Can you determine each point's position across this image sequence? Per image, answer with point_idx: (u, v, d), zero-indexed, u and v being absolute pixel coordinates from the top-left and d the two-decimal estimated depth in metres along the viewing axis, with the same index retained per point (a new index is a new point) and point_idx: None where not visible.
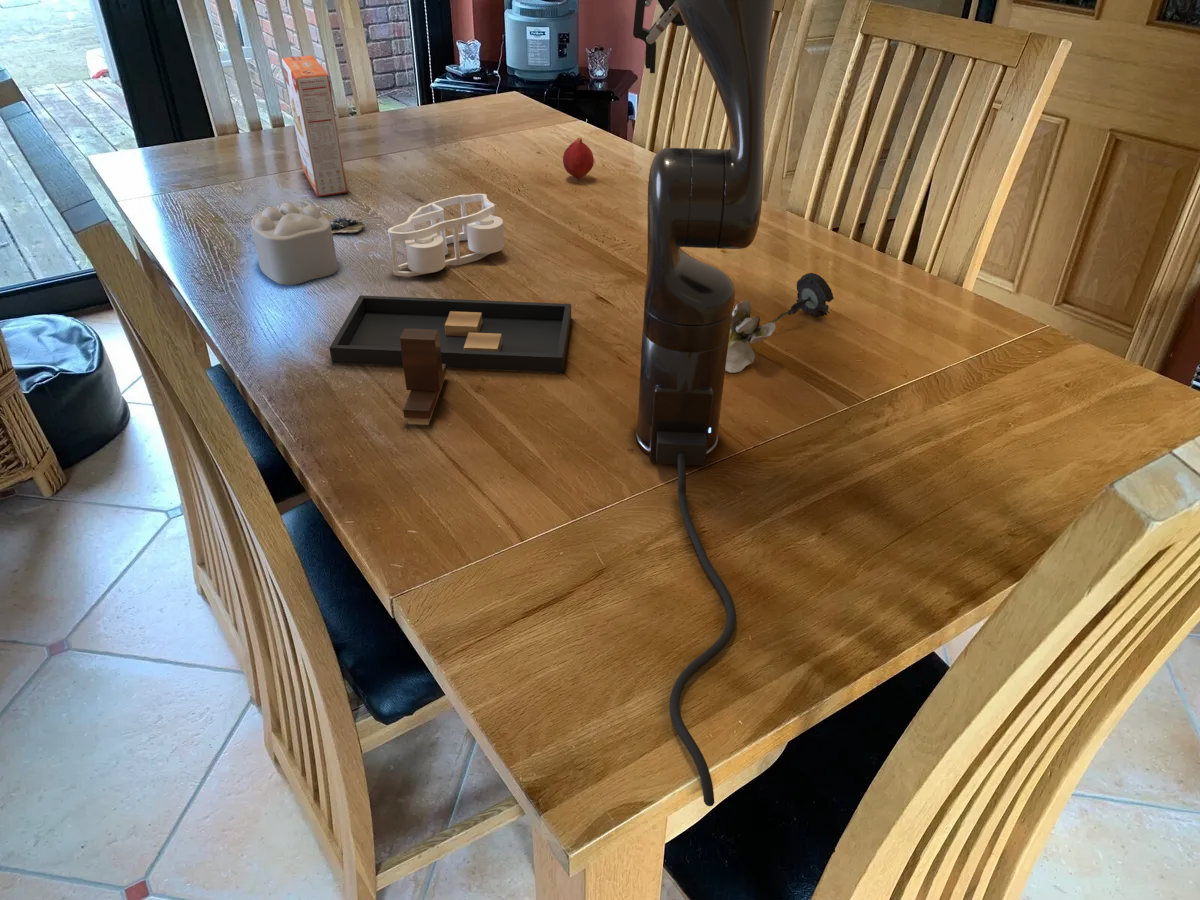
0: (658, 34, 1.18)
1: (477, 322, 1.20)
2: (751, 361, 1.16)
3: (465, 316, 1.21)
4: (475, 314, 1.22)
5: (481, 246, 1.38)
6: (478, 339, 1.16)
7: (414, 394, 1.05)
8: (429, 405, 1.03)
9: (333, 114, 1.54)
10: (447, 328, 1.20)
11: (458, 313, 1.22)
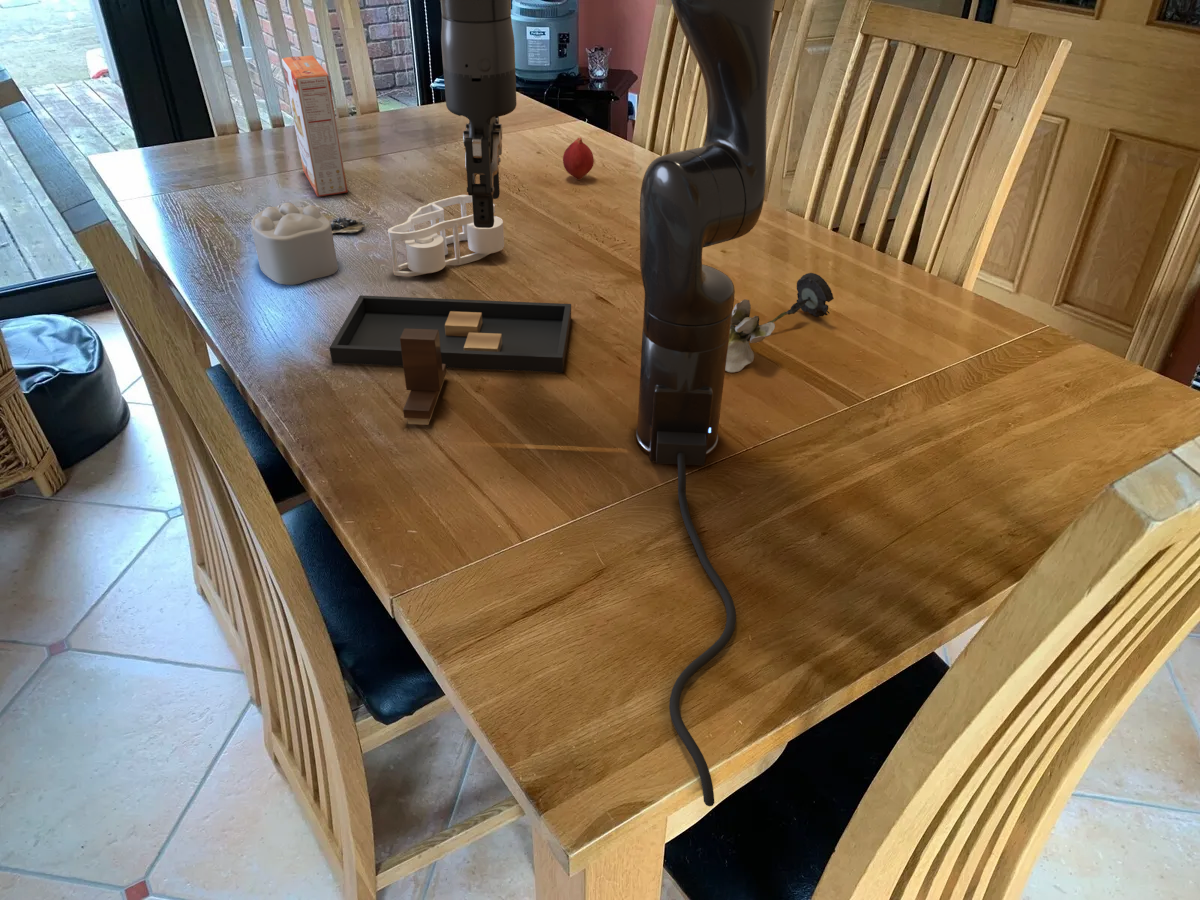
0: None
1: (477, 322, 1.20)
2: (750, 361, 1.16)
3: (465, 316, 1.21)
4: (475, 314, 1.22)
5: (481, 246, 1.38)
6: (478, 339, 1.16)
7: (414, 394, 1.05)
8: (429, 405, 1.03)
9: (333, 114, 1.54)
10: (447, 328, 1.20)
11: (458, 313, 1.22)
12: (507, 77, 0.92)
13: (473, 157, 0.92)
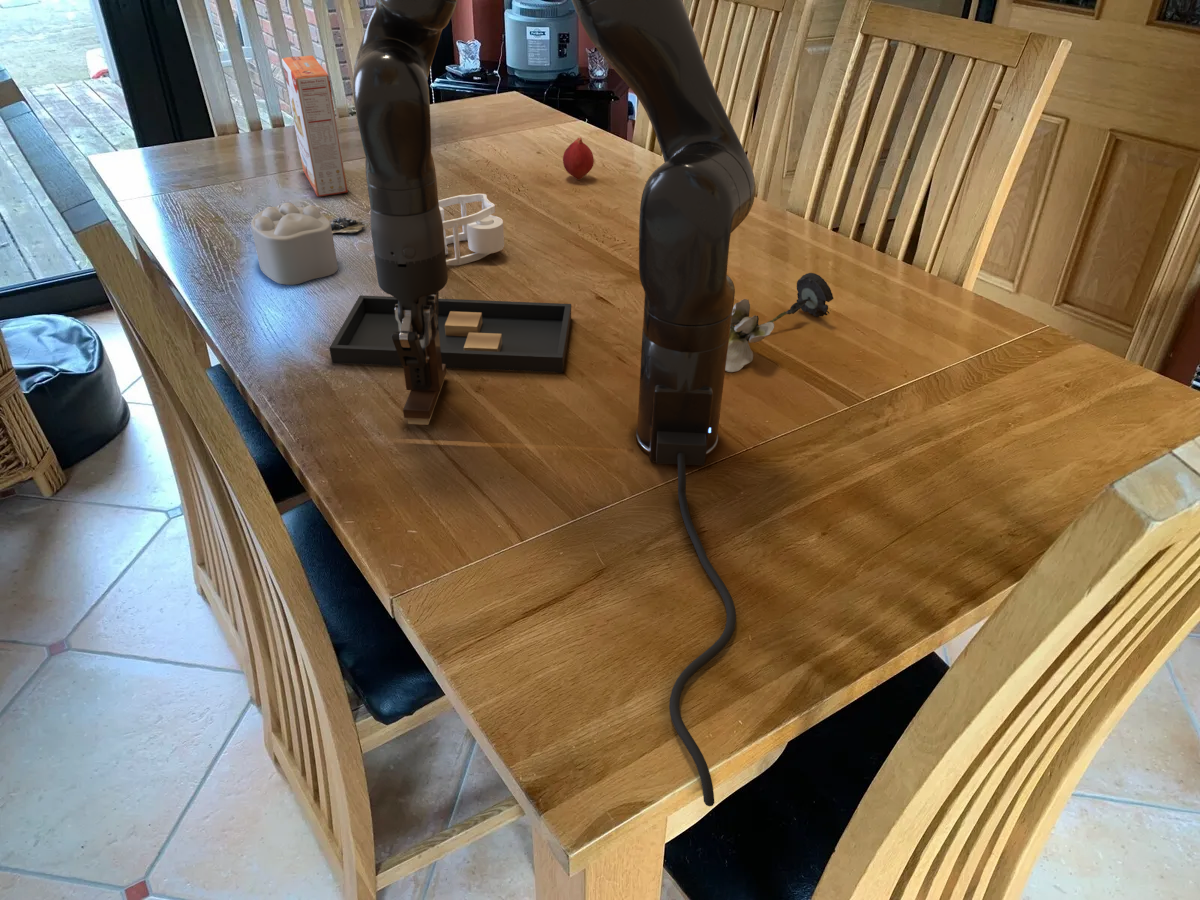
0: None
1: (477, 322, 1.20)
2: (749, 360, 1.16)
3: (465, 316, 1.21)
4: (475, 314, 1.22)
5: (481, 246, 1.38)
6: (478, 339, 1.16)
7: (414, 394, 1.05)
8: (429, 405, 1.03)
9: (333, 114, 1.54)
10: (447, 328, 1.20)
11: (458, 313, 1.22)
12: (433, 260, 0.94)
13: (402, 347, 0.96)
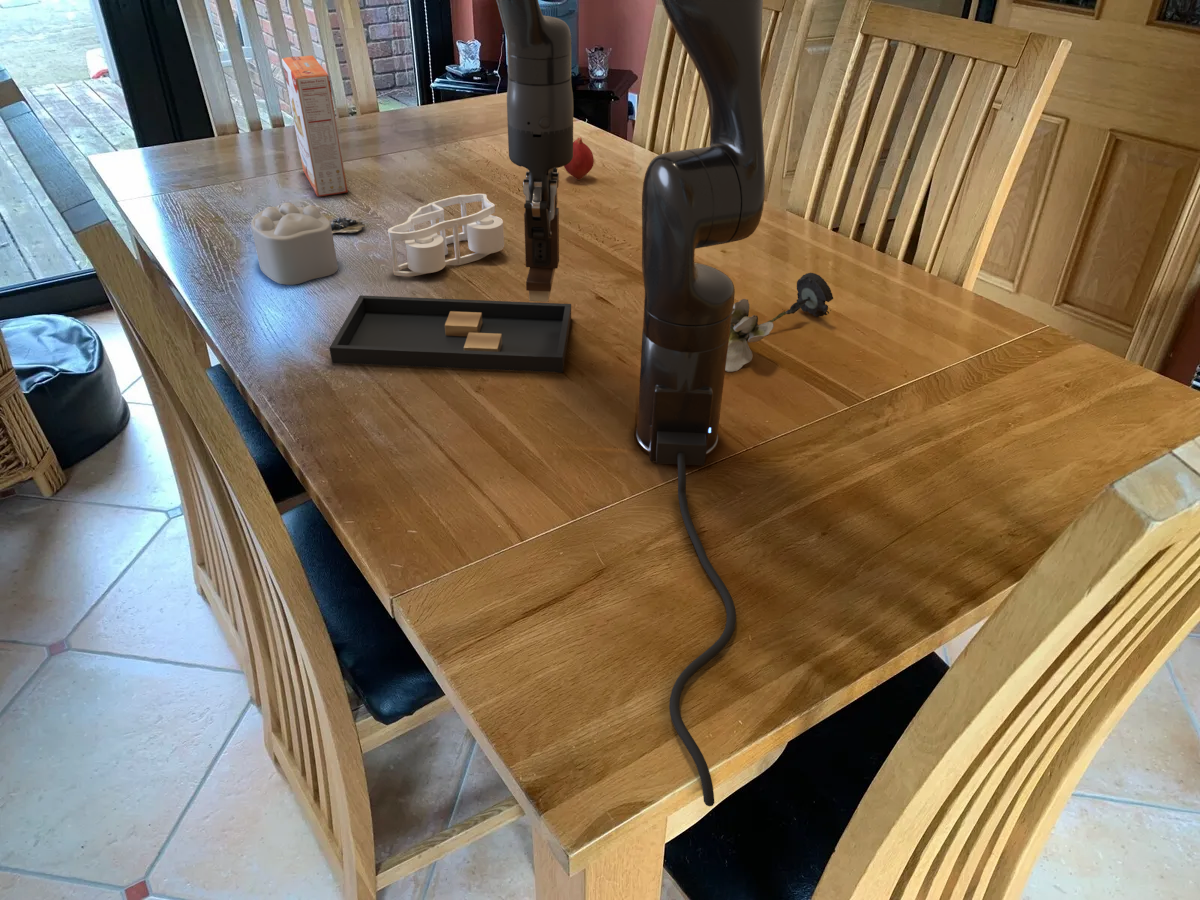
0: None
1: (477, 322, 1.20)
2: (749, 360, 1.16)
3: (465, 316, 1.21)
4: (475, 314, 1.22)
5: (481, 246, 1.38)
6: (478, 339, 1.16)
7: (534, 270, 1.11)
8: (550, 279, 1.09)
9: (333, 114, 1.54)
10: (447, 328, 1.20)
11: (458, 313, 1.22)
12: (565, 133, 1.00)
13: (533, 217, 1.03)
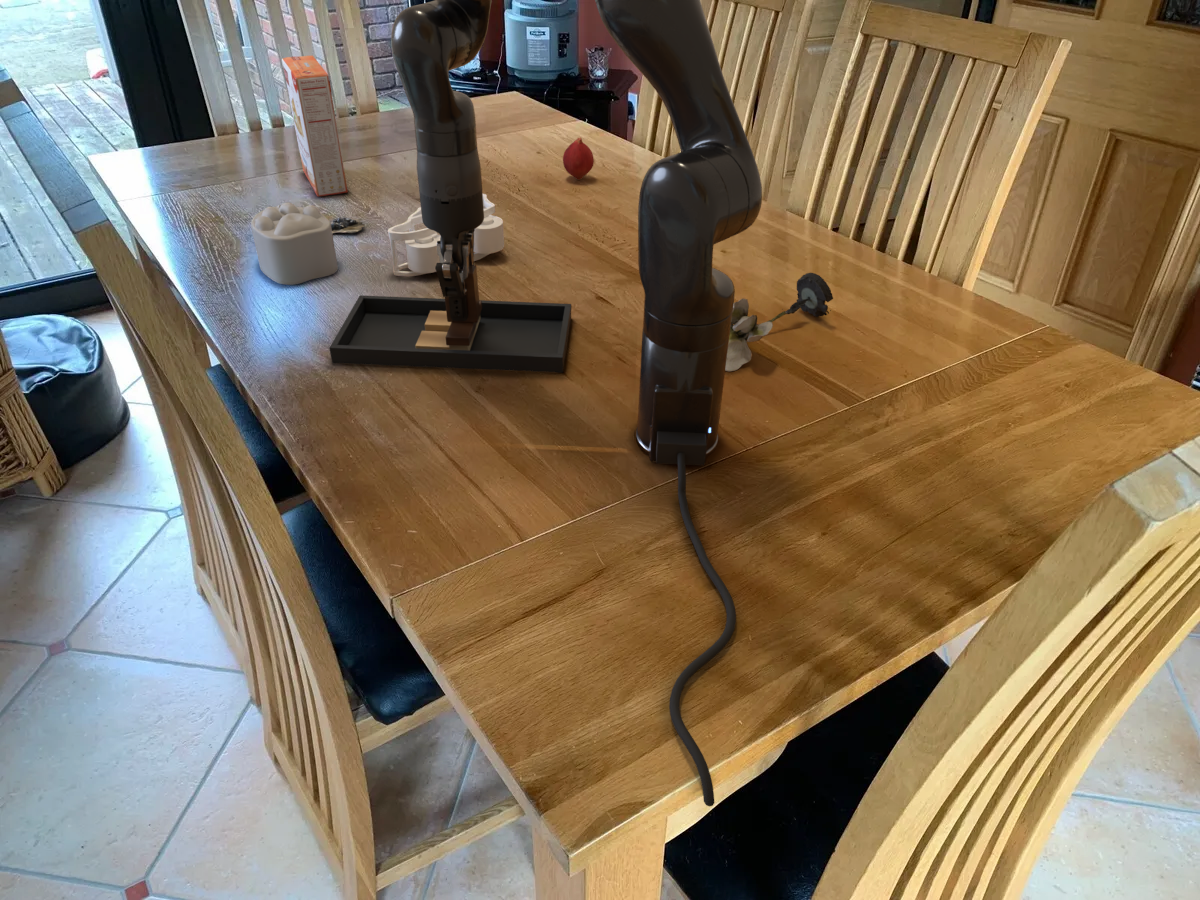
0: None
1: None
2: (748, 360, 1.17)
3: (445, 315, 1.21)
4: None
5: (481, 246, 1.38)
6: (431, 337, 1.16)
7: (455, 325, 1.16)
8: (468, 333, 1.14)
9: (333, 114, 1.54)
10: (427, 327, 1.20)
11: (438, 312, 1.22)
12: (472, 199, 1.06)
13: (444, 278, 1.08)
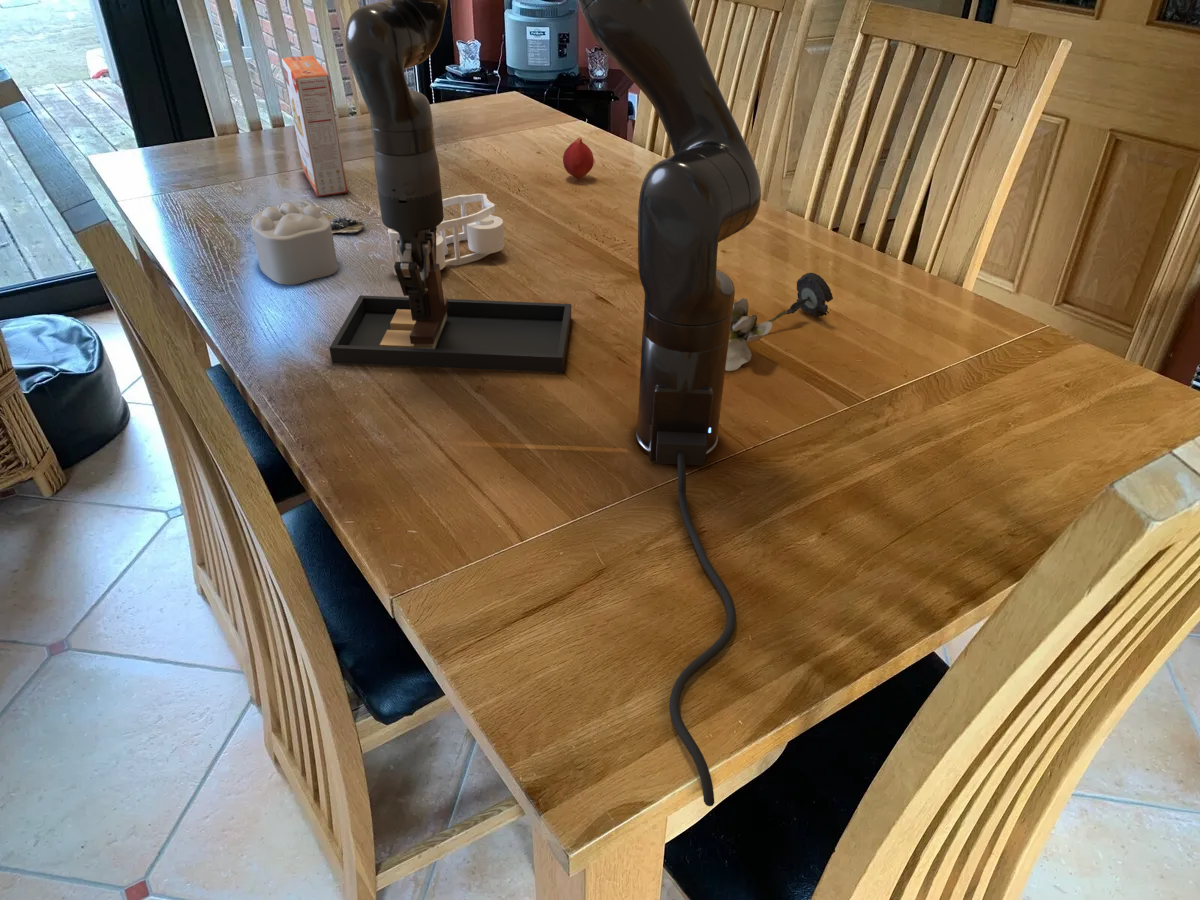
0: None
1: None
2: (747, 360, 1.17)
3: None
4: None
5: (481, 246, 1.38)
6: (395, 336, 1.17)
7: (420, 323, 1.16)
8: (433, 332, 1.14)
9: (333, 114, 1.54)
10: (393, 326, 1.20)
11: (405, 311, 1.22)
12: (431, 198, 1.06)
13: (404, 277, 1.08)
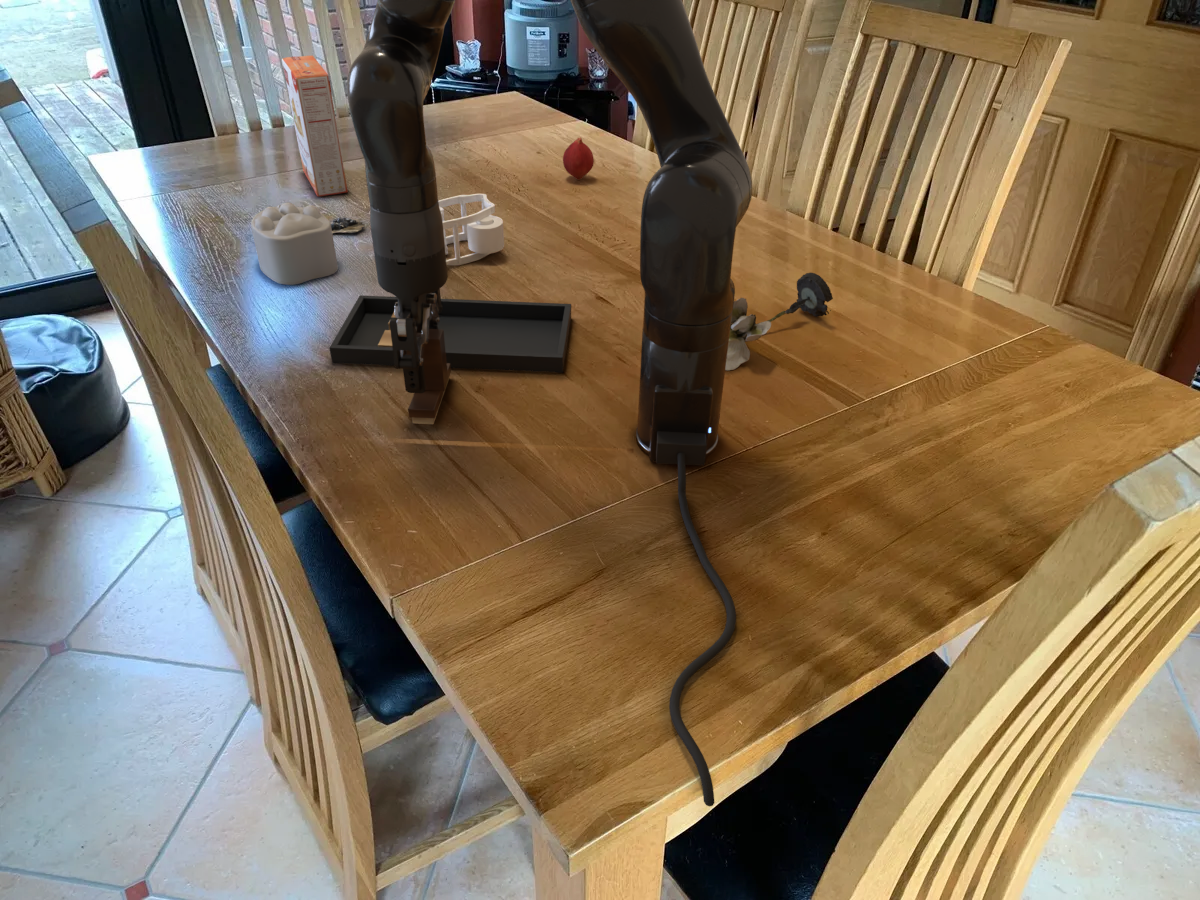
0: None
1: None
2: (746, 359, 1.17)
3: None
4: None
5: (481, 246, 1.38)
6: None
7: (419, 394, 1.05)
8: (434, 404, 1.03)
9: (333, 114, 1.54)
10: None
11: None
12: (433, 258, 0.94)
13: (398, 336, 0.94)
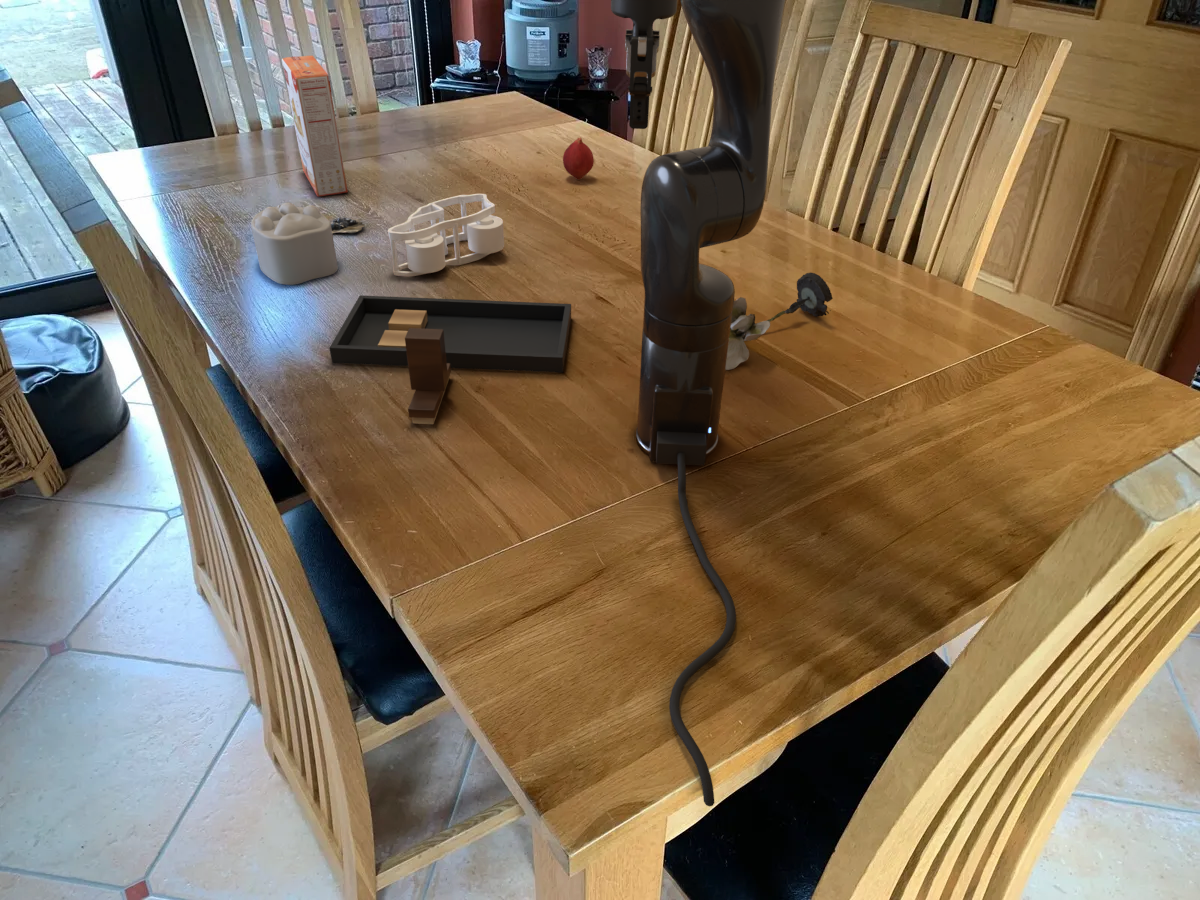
0: None
1: (421, 320, 1.20)
2: (745, 359, 1.17)
3: (409, 314, 1.21)
4: (420, 312, 1.22)
5: (481, 246, 1.38)
6: (394, 336, 1.16)
7: (419, 394, 1.05)
8: (434, 404, 1.03)
9: (333, 114, 1.54)
10: (391, 326, 1.20)
11: (403, 311, 1.22)
12: None
13: (637, 55, 0.98)
